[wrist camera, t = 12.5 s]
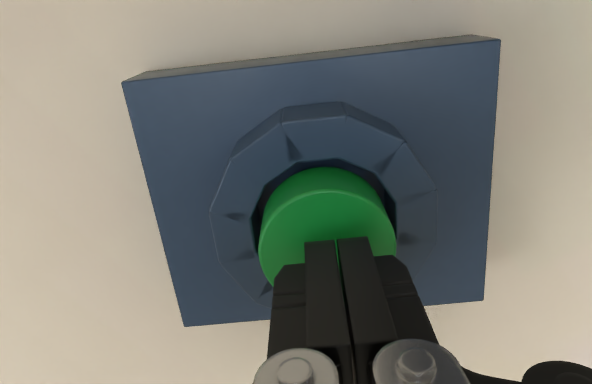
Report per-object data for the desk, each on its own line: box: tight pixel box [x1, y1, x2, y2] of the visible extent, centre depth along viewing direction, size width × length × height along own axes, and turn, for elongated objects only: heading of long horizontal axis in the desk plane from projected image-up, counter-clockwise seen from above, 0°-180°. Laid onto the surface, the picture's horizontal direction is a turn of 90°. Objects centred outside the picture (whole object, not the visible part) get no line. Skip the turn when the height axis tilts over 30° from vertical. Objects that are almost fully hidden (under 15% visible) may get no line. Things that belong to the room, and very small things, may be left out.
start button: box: [258, 167, 396, 286], centre depth 12 cm, size 4×4×2 cm
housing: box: [121, 35, 501, 327], centre depth 15 cm, size 11×9×4 cm
